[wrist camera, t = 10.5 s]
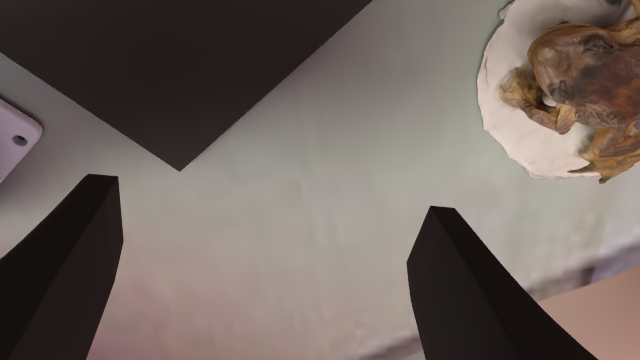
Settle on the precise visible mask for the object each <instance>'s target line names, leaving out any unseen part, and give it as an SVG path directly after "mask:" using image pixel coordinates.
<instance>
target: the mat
mask: <svg viewBox="0 0 640 360" xmlns="http://www.w3.org/2000/svg"><path fill="white" fill-rule="evenodd" d="M371 1H372V0H0V52H1V53H2V54H4V55H5V56H7V57H8V58H10V59H11V60H13V61H14V62H16V63H17V64H19V65H20V66H22V67H23V68H25V69H26V70H28V71H29V72H31V73H32V74H34V75H35V76H37V77H38V78H40V79H41V80H43V81H44V82H46V83H47V84H49V85H50V86H52V87H53V88H55V89H56V90H58V91H59V92H61V93H62V94H64V95H65V96H67V97H68V98H70V99H71V100H73V101H74V102H76V103H77V104H79V105H80V106H82V107H83V108H85V109H86V110H88V111H89V112H91V113H92V114H94V115H95V116H97V117H98V118H100V119H101V120H103V121H104V122H106V123H107V124H109V125H110V126H112V127H113V128H115V129H116V130H118V131H119V132H121V133H122V134H124V135H125V136H127V137H128V138H130V139H131V140H133V141H134V142H136V143H137V144H139V145H140V146H142V147H143V148H145V149H146V150H148V151H149V152H151V153H152V154H154V155H155V156H157V157H158V158H160V159H161V160H163V161H164V162H166V163H167V164H169V165H170V166H172V167H173V168H175V169H176V170H178V171H181V170H182V169H183V168H185V167H186V166H187V165H188V164H189V163H190V162H191V161H192V160H194V159H195V158H196V157H197V156H198V155H199V154H200V153H201V152H203V151H204V150H205V149H206V148H207V147H208V146H209V145H210V144H211V143H213V142H214V141H215V140H216V139H217V138H218V137H219V136H220V135H222V134H223V133H224V132H225V131H226V130H227V129H228V128H229V127H231V126H232V125H233V124H234V123H235V122H236V121H237V120H238V119H240V118H241V117H242V116H243V115H244V114H245V113H246V112H247V111H249V110H250V109H251V108H252V107H253V106H254V105H255V104H256V103H258V102H259V101H260V100H261V99H262V98H263V97H264V96H265V95H267V94H268V93H269V92H270V91H271V90H272V89H273V88H274V87H276V86H277V85H278V84H279V83H280V82H281V81H282V80H283V79H285V78H286V77H287V76H288V75H289V74H290V73H291V72H292V71H293V70H295V69H296V68H297V67H298V66H299V65H300V64H301V63H302V62H304V61H305V60H306V59H307V58H308V57H309V56H310V55H311V54H313V53H314V52H315V51H316V50H317V49H318V48H319V47H320V46H322V45H323V44H324V43H325V42H326V41H327V40H328V39H329V38H331V37H332V36H333V35H334V34H335V33H336V32H337V31H338V30H340V29H341V28H342V27H343V26H344V25H345V24H346V23H347V22H349V21H350V20H351V19H352V18H353V17H354V16H355V15H356V14H358V13H359V12H360V11H361V10H362V9H363V8H364V7H365V6H367V5H368V4H369V3H370V2H371Z"/></svg>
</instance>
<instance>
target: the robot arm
mask: <svg viewBox="0 0 640 360" xmlns="http://www.w3.org/2000/svg"><path fill="white" fill-rule="evenodd" d="M42 133H43V131H42V127H41V126H40V124H39V123H37V122H36V121H35V120H33V119H32V118H30V117H28V116H27V115H25V114H24V113H22V112H20V111H19V110H17V109H15V108H14V107H12V106H11V105H9V104H7V103H6V102H4V101H3V100H1V99H0V183H1V182H2V181H3V180H4V178H5V177H6V176H7V175H8V174H9V173H10V172H11V171H12V169H13V168H14V167H15V166H16V165H17V164H18V163H19V162H20V160H21V159H22V158H23V157H24V156H25V155H26V154H27V153H28V151H29V150H30V149H31V148H32V147H33V146H34V145H35V144H36V142H37V141H38V140H39V139H40V137H41V135H42ZM17 136H22V137H24V138H25V139H26V140H21V139H19V138H18V137H17ZM122 246H123V229H122V217H121V206H120V194H119V182H118V176H107V175H97V174H88V175H87V176H85V177H84V178H83V179H82V180H81V181H80V182H79V183H78V184H77V185H76V186H75V188H74V189H73V190H72V191H71V192H70V193H69V194H68V195H67V196H66V197H65V198H64V199H63V200H62V201H61V202H60V203H59V204H58V205H57V207H56V208H55V209H54V210H53V211H52V212H51V213H50V214H49V215H48V216H47V217H46V218H45V219H44V220H43V221H42V222H40V223H39V224H38V225H37V226H36V227H35V228H34V229H33V230H32V231H31V232H30V233H29V234H28V235H27V236H26V237H25V238H24V239H23V240H22V241H21V242H20V243H18V244H17V245H16V246H15V247H14V248H13V249H12V250H11V251H9V252H8V253H7V254H6V255H5V256H4V257H2V258H1V259H0V360H86V358H87V355H88V353H89V350H90V347H91V344H92V342H93V339H94V336H95V333H96V331H97V328H98V325H99V323H100V320H101V317H102V314H103V312H104V309H105V306H106V303H107V301H108V298H109V295H110V292H111V289H112V287H113V284H114V281H115V276H116V272H117V268H118V264H119V259H120V255H121V250H122ZM407 272H408V281H409V289H410V297H411V303H412V307H413V311H414V315H415V319H416V323H417V327H418V331H419V335H420V339H421V343H422V347H423V350H424V354H425V358H426V360H598V359H597V358H596V357H594V356H593V355H592V354H591V353H590V352H589V351H587V350H586V349H585V348H584V347H583V346H581V345H580V344H579V343H578V342H577V341H576V340H575V339H574V338H573V337H571V335H569V334H568V333H567V332H566V331H565V330H564V329H563V328H562V327H561V326H560V325H558V324H557V323H556V322H555V321H554V320H553V319H552V318H551V317H550V316H549V315H548V314H547V313H546V312H545V311H544V310H543V309H542V308H541V307H540V306H539V305H538V304H537V303H536V302H535V301H534V300H533V298H532V297H531V296H530V295H529V294H528V293H527V292H526V291H525V290H524V289H523V288H522V287H521V286H520V285H519V284H518V282H517V281H516V280H515V279H514V278H513V277H512V276H511V275H510V273H509V272H508V271H507V270H506V269H505V268H504V267H503V265H502V264H501V263H500V262H499V261H498V260H497V258H496V257H495V256H494V255H493V254H492V253H491V251H490V250H489V249H488V248H487V247H486V245H485V244H484V243H483V242H482V240H481V239H480V238H479V237H478V236H477V234H476V233H475V232H474V231H473V230H472V228H471V227H470V226H469V225H468V223H467V222H466V221H465V220H464V219H463V217H462V216H461V215H460V214H459V213H458V212H457V211H456V209H455V208H449V207H438V206H430V208H429V210H428V213H427V215H426V217H425V220H424V222H423V224H422V227H421V229H420V232H419V234H418V236H417V239H416V241H415V243H414V246H413V248H412V251H411V253H410V255H409V258H408V260H407Z"/></svg>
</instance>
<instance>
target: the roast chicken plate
mask: <svg viewBox="0 0 640 360" xmlns="http://www.w3.org/2000/svg"><path fill="white" fill-rule="evenodd" d="M499 17H500V19H504V23H503V24H502V25H501V26H500V27H498V29H497V31H496V32H495V34H494V35H493V36H492V39H491V40H490V41H489V43H488V45H487V48H486V50H485V52H484V54H485V55H484V57H483V62H482V65H481V68H480V71H479V73H478V77H477V87H478V96H477V97H478V104H479V105H480V109H481V114H482V118H483V124H484V126H483V128H484V130H487V131H488V132H489V133H490V134H491V135H492V137H494V138H495V139H497V140H498V141H499V142H500V143H501V145H502V146H503V147H504V148H505V150H506V152H507V154H508V156H509V157H510V158H511V159H514V160H515V161H517V163H518V164H520V165H521V166H522V167H523V168H524V169H525V170H526V171H527V172H528V174H529V176H530V178H543V179H557V180H558V179H565V178H570V177H578V176H588V177H593V176H599V175H602V178H601V179H600V180H599V184H603V183H605V182H606V181H607V180H609V179H611V178H612V177H614V176H616V175H618V174H619V173H622V172H624V171H627V170H628V169H629V168H630V167H632V166H634V165H635V164H638V163H640V0H514V1H512V2H511V3H509V4H508V5H507V6H506V7H505V8H504V9H503V10H501V11H500V12H499Z"/></svg>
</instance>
